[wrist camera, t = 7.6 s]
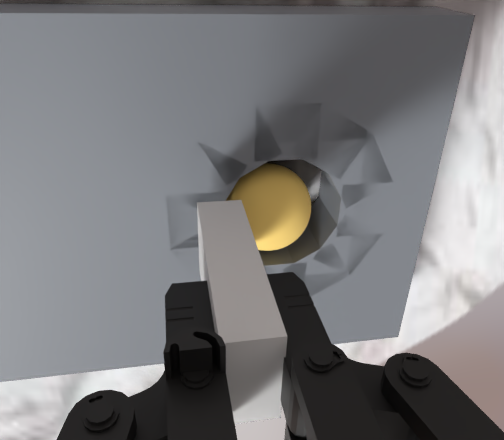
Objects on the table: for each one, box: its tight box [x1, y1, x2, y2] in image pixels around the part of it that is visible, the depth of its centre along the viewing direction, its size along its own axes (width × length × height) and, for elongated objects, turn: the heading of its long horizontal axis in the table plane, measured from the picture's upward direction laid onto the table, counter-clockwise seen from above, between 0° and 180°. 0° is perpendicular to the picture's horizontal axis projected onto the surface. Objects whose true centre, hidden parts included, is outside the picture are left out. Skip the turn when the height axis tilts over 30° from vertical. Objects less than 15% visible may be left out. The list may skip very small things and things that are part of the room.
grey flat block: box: [0, 3, 475, 382], centre depth 18 cm, size 28×14×2 cm, turn 89°
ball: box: [226, 163, 311, 251], centre depth 19 cm, size 3×3×3 cm
